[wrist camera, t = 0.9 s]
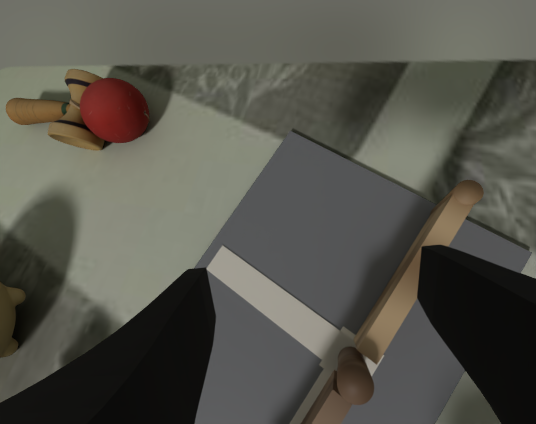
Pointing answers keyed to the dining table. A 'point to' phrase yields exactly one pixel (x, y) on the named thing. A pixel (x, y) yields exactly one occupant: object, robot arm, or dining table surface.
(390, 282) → the gate panel
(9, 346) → the beige frog figurine
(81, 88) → the kendama
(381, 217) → the card
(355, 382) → the fence
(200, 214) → the dining table surface
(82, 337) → the dining table surface
